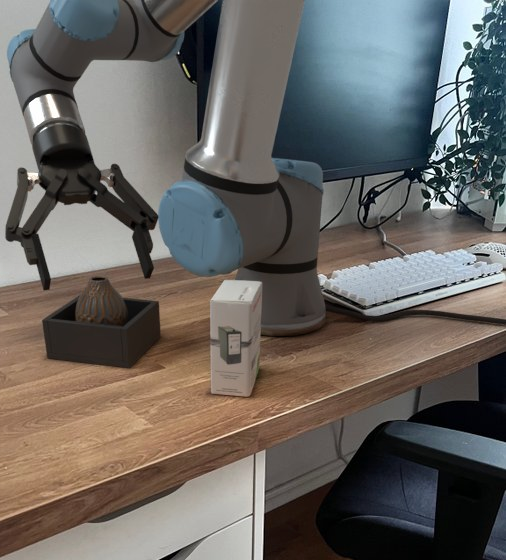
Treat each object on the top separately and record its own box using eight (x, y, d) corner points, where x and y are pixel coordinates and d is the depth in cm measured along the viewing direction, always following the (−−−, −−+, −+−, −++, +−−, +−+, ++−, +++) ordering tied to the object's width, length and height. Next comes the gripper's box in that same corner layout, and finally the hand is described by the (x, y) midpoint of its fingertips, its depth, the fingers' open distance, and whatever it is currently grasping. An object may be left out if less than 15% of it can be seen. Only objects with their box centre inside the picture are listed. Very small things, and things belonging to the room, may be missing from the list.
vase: (140, 340, 95) (136, 277, 90) (103, 355, 90) (97, 289, 85) (104, 329, 98) (99, 268, 94) (67, 343, 93) (60, 279, 89)
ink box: (223, 366, 89) (223, 277, 84) (260, 369, 89) (263, 279, 83) (209, 394, 82) (208, 298, 76) (250, 398, 82) (252, 301, 76)
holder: (160, 337, 98) (159, 301, 95) (129, 368, 88) (126, 329, 86) (85, 328, 100) (81, 293, 98) (46, 358, 91) (41, 319, 88)
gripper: (141, 156, 102) (181, 282, 98) (-37, 163, 92) (0, 304, 88) (151, 119, 96) (195, 254, 92) (-40, 123, 86) (0, 274, 82)
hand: (99, 279), depth 90 cm, fingers open, 13 cm apart
